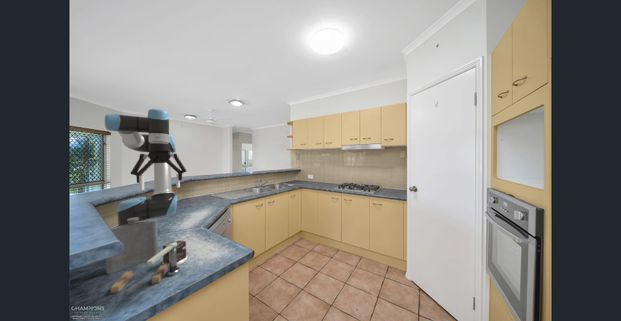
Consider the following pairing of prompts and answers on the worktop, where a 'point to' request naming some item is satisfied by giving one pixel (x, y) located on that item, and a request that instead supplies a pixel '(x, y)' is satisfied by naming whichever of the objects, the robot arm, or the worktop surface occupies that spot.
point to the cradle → (129, 274)
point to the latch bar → (162, 253)
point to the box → (179, 251)
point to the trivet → (179, 261)
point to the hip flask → (134, 244)
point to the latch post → (172, 263)
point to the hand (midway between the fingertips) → (160, 188)
